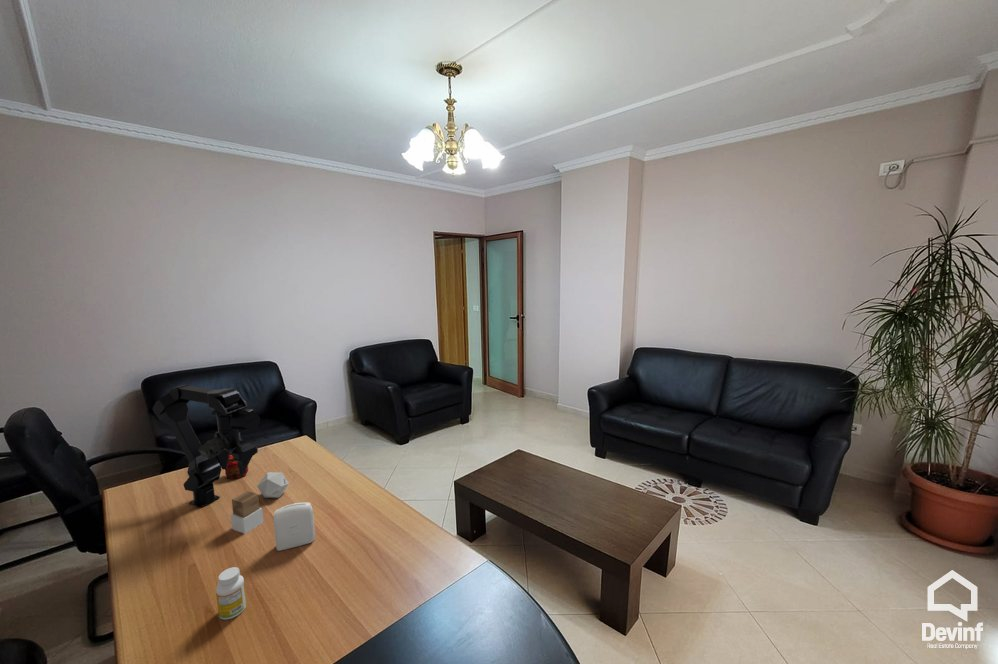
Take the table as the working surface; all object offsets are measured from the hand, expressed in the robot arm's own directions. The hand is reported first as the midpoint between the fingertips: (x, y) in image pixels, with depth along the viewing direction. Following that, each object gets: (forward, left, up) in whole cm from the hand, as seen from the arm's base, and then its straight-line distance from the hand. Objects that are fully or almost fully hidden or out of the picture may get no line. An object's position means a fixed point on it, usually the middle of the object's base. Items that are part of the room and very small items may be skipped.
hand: (233, 471), depth 127 cm
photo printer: (+34, -5, -13) cm, 37 cm away
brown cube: (+13, -5, -8) cm, 16 cm away
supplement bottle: (+40, -27, -13) cm, 50 cm away
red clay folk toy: (-21, +14, -13) cm, 28 cm away
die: (+5, +10, -13) cm, 17 cm away
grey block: (+13, -5, -13) cm, 19 cm away
